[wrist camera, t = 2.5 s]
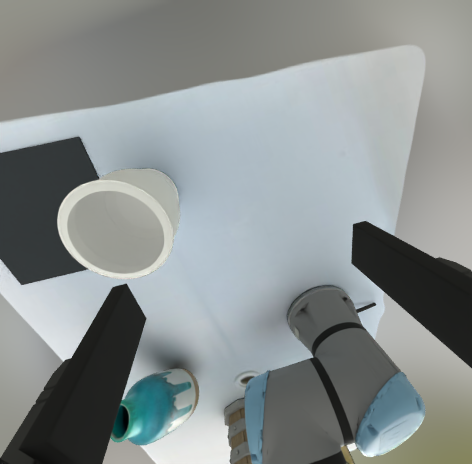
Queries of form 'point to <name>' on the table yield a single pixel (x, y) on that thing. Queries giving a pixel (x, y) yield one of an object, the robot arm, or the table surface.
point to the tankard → (237, 433)
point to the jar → (121, 222)
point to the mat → (39, 207)
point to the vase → (156, 406)
